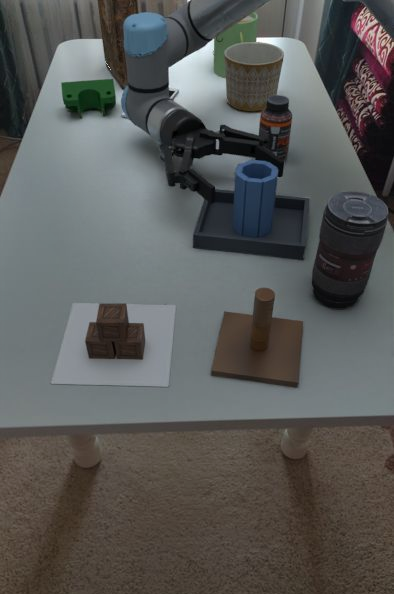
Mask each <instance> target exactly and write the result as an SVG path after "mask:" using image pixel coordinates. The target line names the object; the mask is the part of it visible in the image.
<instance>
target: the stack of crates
mask: <svg viewBox="0 0 394 594" xmlns="http://www.w3.org/2000/svg"><path fill="white" fill-rule="evenodd" d="M176 309H177V305H176V304H145V303H144V304H141V303H140V304H139V303H138V304H137V303H121V302H119V303H117V302H115V303H100V302H97V303H93V302H92V303H91V302H73V303H72V305H71V309H70V312H69V316H68V320H67V324H66V327H65V330H64V335H63V338H62V341H61V345H60V349H59V352H58V356H57V360H56V363H55V366H54V370H53V373H52V378H51V381H50V384H52V385H78V386H79V385H80V386H81V385H83V386H85V385H86V386H119V387H120V386H122V387H163V388H169V385H170V376H171V375H170V374H171V373H170V372H171V364H172V355H173V354H172V353H173V343H174V332H175V321H176V312H177V310H176Z"/></svg>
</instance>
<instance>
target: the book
mask: <svg viewBox="0 0 394 594" xmlns="http://www.w3.org/2000/svg"><path fill="white" fill-rule="evenodd" d="M96 1H97V7H98V15H99V24H100V25H99V26H100V32H101V33H100V34H101V38H102V39H101V40H102V41H101V42H102V49H103V55H104V61H106V63H107V64H108V65H107V64H106V63H105V62H104V63H105V67H106V69H107V71H108V72H109V74H111V76H112V77H113V80H115V81H116V83H117V85H118V86H119V87H120V89H121V90H122V91H124V89H125V88H126V87H127V85H128V77H127V67H126V58H125V50H124V46H123V45H124V29H123V25H124V21H125V20H126V18H127V17H129V16H130V15H133V14H139V4H138V3H139V2H138V0H96ZM108 66H109V67H110V68H109V67H108ZM110 69H111V70H110Z"/></svg>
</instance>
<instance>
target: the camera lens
mask: <svg viewBox="0 0 394 594" xmlns="http://www.w3.org/2000/svg"><path fill="white" fill-rule="evenodd" d="M388 216H389V209H388V205H387V204H386V203H385V202H384V201H383V200H382V199H381V198H379V197H377V196H375V195H373V194H370V193H367V192H364V191H356V190H345V191H340V192H337V193H334V194H333V195H331V196H330V198H329V199H328V200H327V204H326V205H324V209H323V214H322V218H321V223H320V224H321V225H320V228H319V236H318V238H319V239H318V240H319V241H318V245H317V248H316V249H317V250H316V254H315V258H314V261H313V266H312V271H311V276H312V277H311V287H312V294H313V297H314V299H315V301H317V302H318V303H319V304H320V305H322V306H324V307H326V308H329V309H333V310H345V309H349V308H351V307H353V306H355V305H356V304H357V303H358V302H359V299H360V298H361V297H362V296H363V294H364V293H365V290H366V288H367V286H368V284H369V281H370V277H371V274H372V268H373V266H374V262H375V258H376V256H377V252H378V250H379V248H380V246H381V243H382V241H383V237H384V236H385V235H384V234H385V232H386V229H387V224H388V222H389V217H388Z"/></svg>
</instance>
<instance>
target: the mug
mask: <svg viewBox="0 0 394 594" xmlns="http://www.w3.org/2000/svg"><path fill="white" fill-rule="evenodd" d="M258 22H259V15H258V14H257V13H256V12H253V13H252V14H250V15H249V16H247V17H246V18H244V19H243V20H241V21H240V22H238V23H237V24H235V25H234V26H232V27H231V28H229V29H228V30H226V31H225V32H223V33H222V34H220V35H219V36H217V37H216V38H214V39H213V50H212V55H213V73H214V74H215V75H216V76H218V77H221V78H224V79H226V76H225V58H224V52H225V50H226V49H227V48H228V47H230V46H232V45H234V44H238V43H244V42H257V38H258V37H257V36H258Z"/></svg>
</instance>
